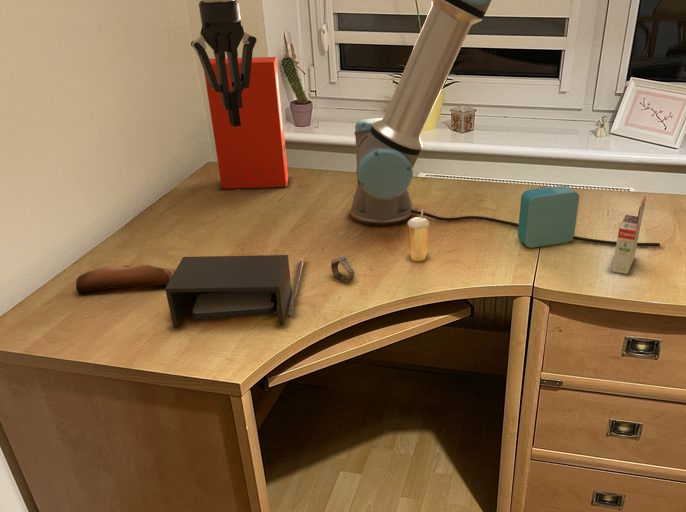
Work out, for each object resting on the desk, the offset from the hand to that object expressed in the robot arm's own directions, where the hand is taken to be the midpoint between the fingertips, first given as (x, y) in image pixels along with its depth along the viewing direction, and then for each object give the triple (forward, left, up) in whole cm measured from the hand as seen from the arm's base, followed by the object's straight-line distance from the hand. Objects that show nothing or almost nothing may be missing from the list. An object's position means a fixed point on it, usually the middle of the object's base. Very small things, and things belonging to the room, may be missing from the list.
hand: (235, 124), depth 147 cm
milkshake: (-38, +10, -27) cm, 47 cm away
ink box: (-81, +16, -27) cm, 87 cm away
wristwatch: (-22, +20, -27) cm, 40 cm away
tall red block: (+5, -39, -27) cm, 48 cm away
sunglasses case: (+22, +20, -27) cm, 40 cm away
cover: (-2, +32, -26) cm, 41 cm away
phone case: (-2, +31, -27) cm, 41 cm away
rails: (-2, +23, -26) cm, 35 cm away
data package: (-67, +3, -27) cm, 72 cm away
